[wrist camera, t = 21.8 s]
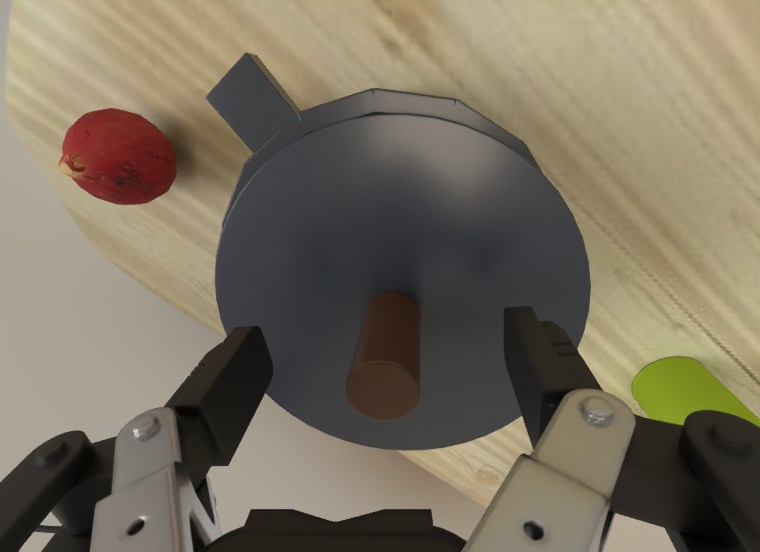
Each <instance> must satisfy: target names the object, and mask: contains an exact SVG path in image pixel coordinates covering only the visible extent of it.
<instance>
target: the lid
mask: <svg viewBox="0 0 760 552" xmlns="http://www.w3.org/2000/svg"><path fill="white" fill-rule="evenodd" d="M215 287H216V300H217V304H218V309H219V313H220V318H221V321H222V324H223V327H224V329H225V332H226V335H227V336H228V335H229V334H230V332H231V331H232V330H233V329H234V328H236V327H247V326H259V327H260V328H261V330H262V333H263V336H264V338H265V341H266V344H267V347H268V350H269V353H270V356H271V359H272V362H273V377H272V380H271V382H270V384H269V386H268V388H267V390H266V392H265V393H266V394H267V395H268V396H269V397H271V398H272V400H274V401H275V402H276V403H277V404H278V405H280V406H281V407H282V408H283V409H285V410H286V411H287V412H289V413H290V414H292V415H293V416H295V417H296V418H298V419H300V420H301V421H303V422H304V423H306V424H308V425H309V426H311V427H313V428H316V429H318V430H320V431H322V432H324V433H326V434H328V435H331V436H334V437H336V438H339V439H342V440H345V441H348V442H352V443H356V444H359V445H363V446H368V447H375V448H381V449H389V450H404V451H406V450H428V449H436V448H444V447H449V446H453V445H458V444H462V443H466V442H469V441H472V440H475V439H477V438H480V437H483V436H486V435H488V434H490V433H492V432H494V431H496V430H499V429H501V428H503V427H504V426H506V425H508V424H509V423H511V422H513V421H514V420H516V419H518V418H519V417H521V416H522V414H521V411H520V408H519V405H518V402H517V399H516V396H515V393H514V390H513V387H512V383H511V380H510V377H509V374H508V371H507V368H506V364H505V358H504V309H505V308H507V307H521V306H531V307H532V309H533V311H534V312H535V314H536V316H537V318H538V320H539V322H541V321H552V322H554V323H555V324H556V325H558V326H559V327H561V328H562V329H564V330H565V331H566V333H567V335H568V336H569V338H570V339H571V341H572V344H573V345H574V346H575V347H576V349H577V348H578V346H579V343H580V341H581V338H582V336H583V333H584V330H585V325H586V321H587V316H588V312H589V303H590V289H591V283H590V272H589V261H588V257H587V253H586V249H585V245H584V241H583V237H582V235H581V233H580V230H579V228H578V226H577V223H576V221H575V219H574V216H573V214H572V212H571V211H570V209H569V208H568V206H567V204H566V203H565V201H564V200H563V198H562V196H561V195H560V193H559V192H558V190H557V189H556V188H555V187H554V186H553V185H552V183H551V182H550V181H549V180H548V179H547V178H546V177H545V175H544V174H543V173H542V172H541V171H540V170H539V169H538V168H537V167H536V166H534V165H533V164H532V163H531V162H530V161H529V160H527V159H526V158H525V157H524V156H523V155H521V154H520V153H519V152H518V151H516V150H515V149H513V148H511V147H510V146H508V145H506V144H505V143H503V142H502V141H500V140H498V139H497V138H495V137H493V136H491V135H489V134H487V133H484V132H482V131H480V130H477V129H475V128H473V127H470V126H468V125H466V124H462V123H458V122H455V121H451V120H447V119H443V118H440V117H435V116H427V115H418V114H410V113H390V114H373V115H367V116H361V117H355V118H349V119H345V120H342V121H339V122H336V123H333V124H330V125H327V126H324V127H321V128H319V129H317V130H315V131H313V132H311V133H309V134H307V135H305V136H303V137H301V138H299V139H297V140H295V141H293V142H292V143H291V144H289V145H288V146H286V147H285V148H283V149H282V150H281V151H279V152H278V153H276V154H275V155H274V156H272V157H271V158H270V159H269V160H268V161H267V162H266V163H265V164H264V165H263V166H262V167H261V168H260V169H259V170H258V171H257V172H256V173H255V174H254V175H253V176H252V178H251V179H250V180H249V182H248V183H247V184H246V186H245V187H244V188H243V189H242V191H241V192H240V194H239V195H238V197H237V199H236V201H235V203H234V204H233V206H232V208H231V210H230V212H229V214H228V216H227V219H226V222H225V224H224V227H223V230H222V233H221V236H220V240H219V245H218V250H217V255H216V266H215Z"/></svg>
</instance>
